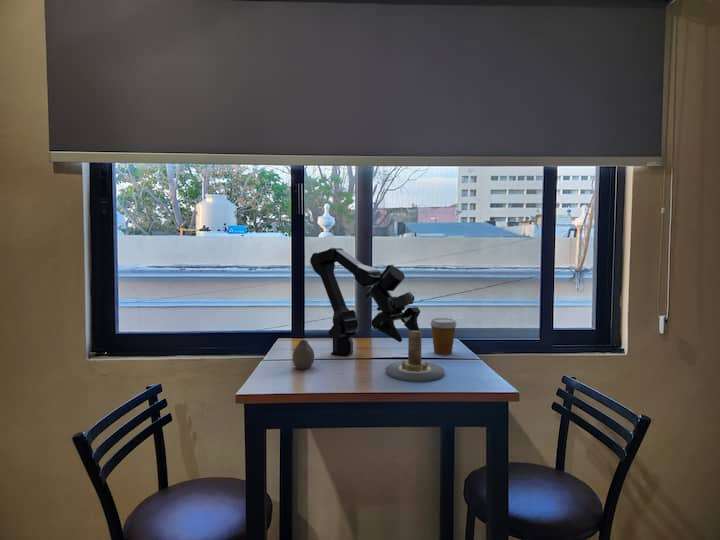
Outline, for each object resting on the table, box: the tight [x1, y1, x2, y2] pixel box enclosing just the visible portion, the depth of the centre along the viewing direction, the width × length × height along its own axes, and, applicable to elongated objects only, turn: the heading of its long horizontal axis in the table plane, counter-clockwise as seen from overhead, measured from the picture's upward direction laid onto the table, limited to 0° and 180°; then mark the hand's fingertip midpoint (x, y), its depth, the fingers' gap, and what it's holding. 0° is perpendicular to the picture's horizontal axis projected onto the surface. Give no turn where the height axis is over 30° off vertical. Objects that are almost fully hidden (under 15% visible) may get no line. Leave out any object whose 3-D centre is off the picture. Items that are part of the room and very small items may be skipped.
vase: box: [292, 339, 315, 370], centre depth 147 cm, size 7×7×9 cm
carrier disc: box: [385, 360, 445, 383], centre depth 143 cm, size 18×18×1 cm
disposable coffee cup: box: [429, 317, 458, 356], centre depth 167 cm, size 10×10×12 cm
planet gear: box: [402, 330, 429, 372], centre depth 142 cm, size 8×8×12 cm
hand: (410, 339), depth 143 cm, fingers open, 9 cm apart
